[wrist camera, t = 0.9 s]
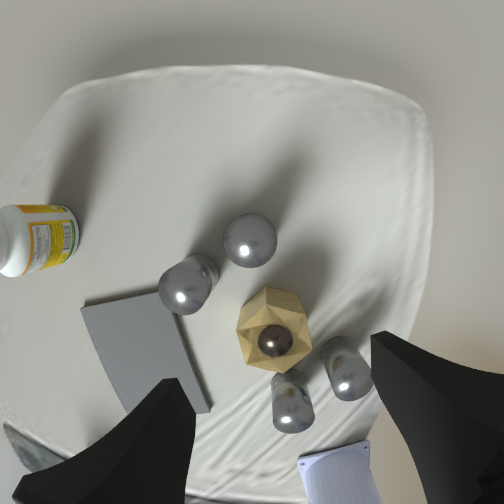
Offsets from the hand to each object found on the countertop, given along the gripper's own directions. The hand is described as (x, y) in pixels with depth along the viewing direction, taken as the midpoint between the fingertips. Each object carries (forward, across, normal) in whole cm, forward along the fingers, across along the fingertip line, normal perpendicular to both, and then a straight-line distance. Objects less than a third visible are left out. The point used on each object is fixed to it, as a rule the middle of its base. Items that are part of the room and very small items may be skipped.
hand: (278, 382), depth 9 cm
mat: (+12, +12, +5) cm, 17 cm away
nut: (+12, 0, +3) cm, 12 cm away
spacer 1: (+12, +5, -1) cm, 13 cm away
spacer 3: (+11, 0, +10) cm, 15 cm away
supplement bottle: (+13, +17, -7) cm, 23 cm away
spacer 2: (+12, 0, -3) cm, 13 cm away
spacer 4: (+11, -5, +8) cm, 14 cm away
